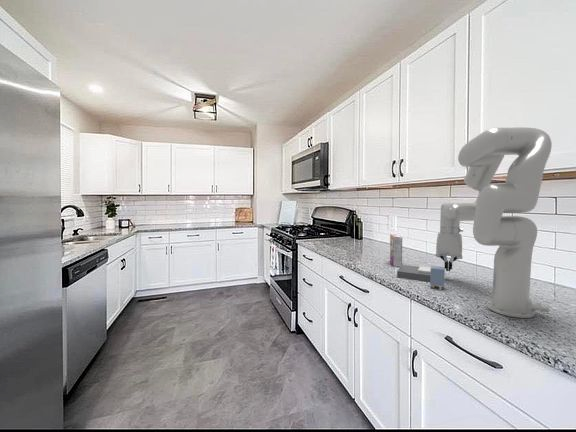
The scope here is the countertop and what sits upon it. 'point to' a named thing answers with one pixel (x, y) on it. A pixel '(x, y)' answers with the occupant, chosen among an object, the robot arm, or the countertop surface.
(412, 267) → the socket
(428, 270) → the shutter
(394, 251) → the candy bar box
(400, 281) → the countertop surface
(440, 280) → the plug
